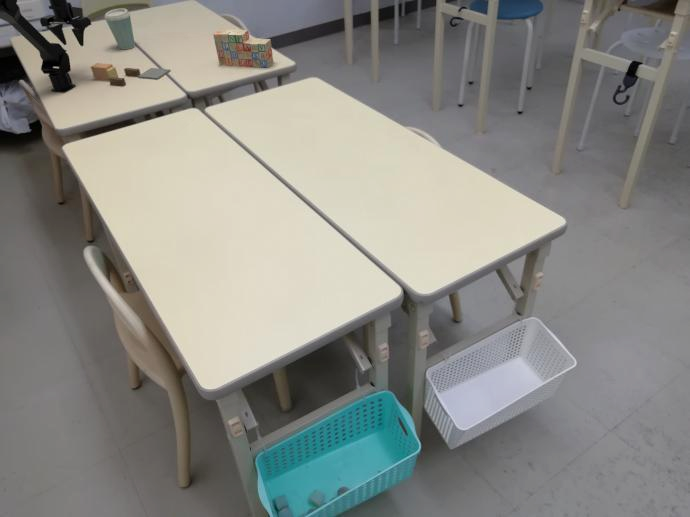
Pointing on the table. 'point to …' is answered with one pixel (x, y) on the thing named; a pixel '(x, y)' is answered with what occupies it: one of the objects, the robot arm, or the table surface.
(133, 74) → the rail right
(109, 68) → the plug block
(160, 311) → the table surface
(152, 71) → the mat
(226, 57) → the stack of blocks
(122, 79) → the rail left
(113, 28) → the disposable coffee cup
